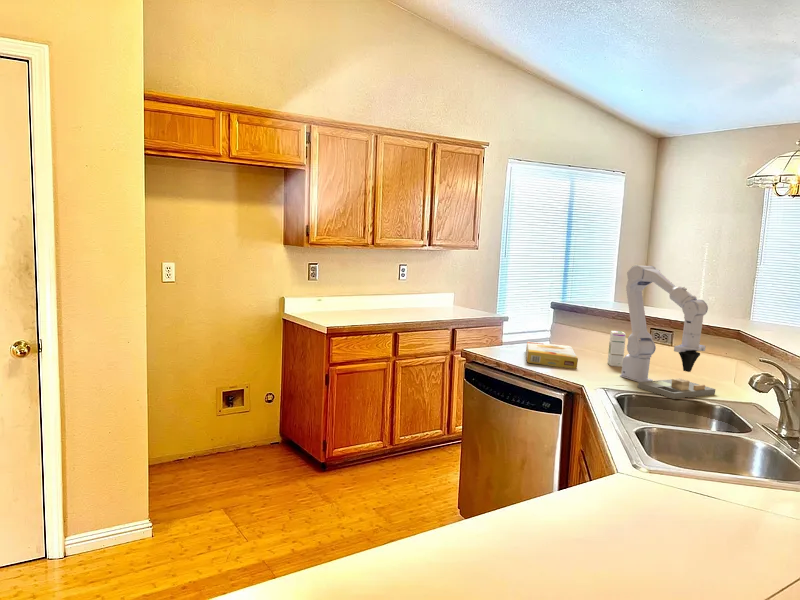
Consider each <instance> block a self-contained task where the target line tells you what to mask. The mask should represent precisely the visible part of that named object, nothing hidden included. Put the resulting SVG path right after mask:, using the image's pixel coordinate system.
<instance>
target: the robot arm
mask: <svg viewBox="0 0 800 600" xmlns="http://www.w3.org/2000/svg"><path fill="white" fill-rule="evenodd" d="M626 275H627V282H626V286H625V287H626V288H625V289H626V290H625V291H626V298H627V304H628V312H629V320H630V328H631V333H630V334H629V336H628V337H627V345H626V351H627V354H626V355H624V359H623V363H622V367H621V374H619V377H621V378H625V379H628V380H631V381H634V382H637V383H638V382H647V381H654V380H653V379H652V378H649V372H650V364H651V363H650V362H651V358H652V355H654V353H655V352H656V349H657V348H656V344H655V341H654V340H653V335H652V334H651V333H650V332H649V331H648V327H647V320H646V313H645V305H644V304H645V303H644V296H643V291H644V289H645V288H646V287H648V286H649V285H651V283H654V284H655V285H657V286H658V287H660V288H661V289H662V290H663V291H665V292H666V293H667V294H668V295H669V299H670V300H671V301H673V302H674V303H675V304H676V305H677V306H678V307H680V308H681V310H682V313H683V314H684V317H683V319H684V323H683V332H682V339H681V344H678V345H674V346H673V347H674V348H673V352H674V353H678V355H679V356H680V359H681V365H682V370H683V372H688V373H691V371H692V370H693V367H694V364H695V363H696V361H697V360H698V358H699V357H700V356H701V353H700V352H706V345H703V344H700V342H701V336H702V329H703V323H704V322H703V321H704V316H705V315H706V314H707V313H708V311H709V310H708V309H709V306H708V303H706V301H705V300H703V299H697V296H696V295H692V294H691V293H690V292H689V291H687V289H688V288H687V287H685V286H683V287H682V286H677V285H675V284H674V283H673V282H671V281H670V280H669V279H668V278H667V277H666V276H665V275H664V274H662V273H661V270H660V269H658V268H656V267H655V266H653V265H638V264H634V265H633V266H632V265H631V267H630V268H629V270H628V271H627V273H626Z"/></svg>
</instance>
